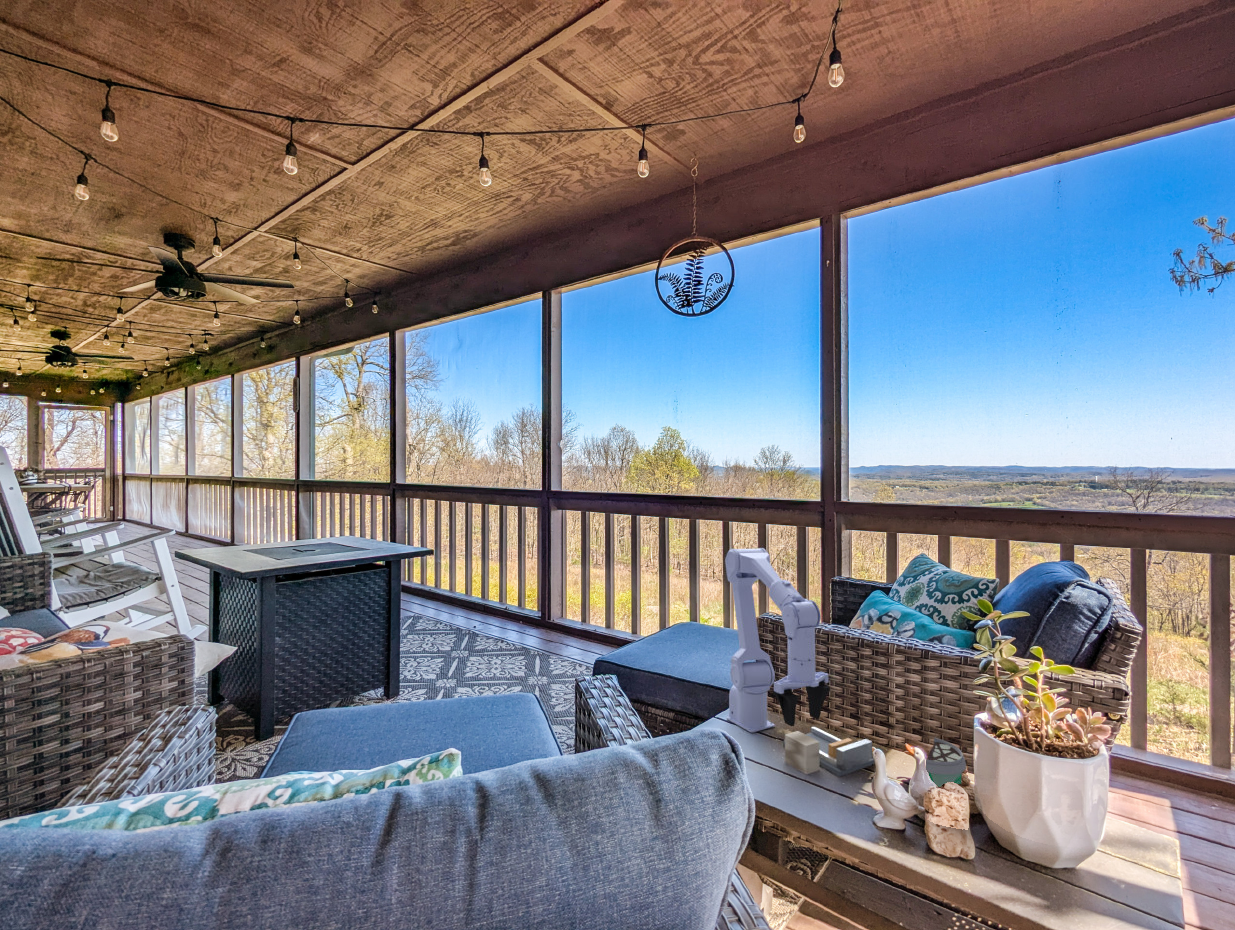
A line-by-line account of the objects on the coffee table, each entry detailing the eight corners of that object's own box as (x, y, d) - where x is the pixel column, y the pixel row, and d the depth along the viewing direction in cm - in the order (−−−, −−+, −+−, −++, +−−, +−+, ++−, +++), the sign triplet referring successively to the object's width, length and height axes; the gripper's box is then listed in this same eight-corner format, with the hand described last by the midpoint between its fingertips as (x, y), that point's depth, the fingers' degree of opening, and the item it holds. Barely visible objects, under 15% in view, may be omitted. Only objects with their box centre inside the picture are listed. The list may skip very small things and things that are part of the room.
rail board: (783, 745, 133) (783, 723, 133) (816, 735, 138) (816, 714, 138) (839, 776, 119) (839, 752, 119) (874, 764, 124) (874, 740, 124)
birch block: (784, 762, 125) (784, 734, 125) (798, 758, 127) (798, 730, 127) (806, 774, 119) (806, 745, 120) (819, 770, 121) (819, 741, 122)
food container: (962, 827, 102) (962, 770, 102) (924, 814, 105) (923, 759, 106) (970, 796, 111) (969, 745, 112) (934, 786, 115) (934, 736, 115)
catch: (828, 758, 124) (828, 744, 124) (848, 751, 127) (848, 737, 127) (832, 760, 123) (832, 746, 123) (852, 753, 126) (852, 740, 126)
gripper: (791, 667, 117) (791, 734, 116) (839, 657, 124) (840, 720, 123) (766, 658, 123) (767, 722, 122) (813, 649, 130) (814, 709, 129)
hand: (802, 720), depth 123 cm, fingers open, 7 cm apart
